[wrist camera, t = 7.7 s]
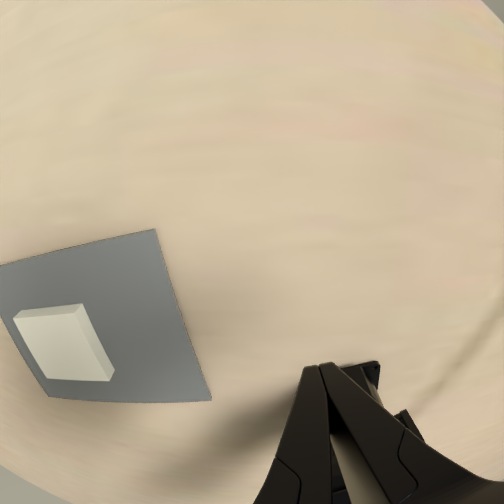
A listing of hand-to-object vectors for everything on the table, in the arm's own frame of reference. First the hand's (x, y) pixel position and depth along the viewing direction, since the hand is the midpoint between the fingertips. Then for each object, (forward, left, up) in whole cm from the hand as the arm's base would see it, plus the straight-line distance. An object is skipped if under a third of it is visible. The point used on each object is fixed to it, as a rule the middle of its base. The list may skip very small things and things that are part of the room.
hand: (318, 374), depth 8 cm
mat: (-6, +18, -12) cm, 23 cm away
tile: (-6, +16, -11) cm, 20 cm away
